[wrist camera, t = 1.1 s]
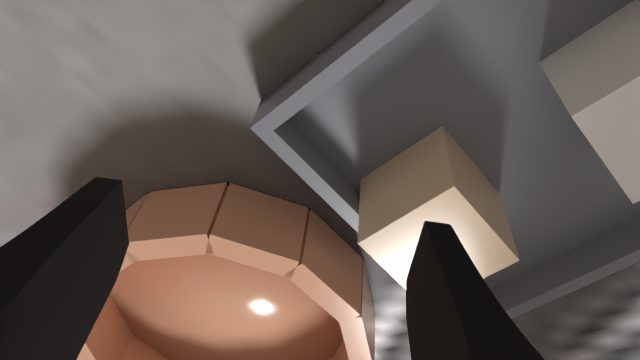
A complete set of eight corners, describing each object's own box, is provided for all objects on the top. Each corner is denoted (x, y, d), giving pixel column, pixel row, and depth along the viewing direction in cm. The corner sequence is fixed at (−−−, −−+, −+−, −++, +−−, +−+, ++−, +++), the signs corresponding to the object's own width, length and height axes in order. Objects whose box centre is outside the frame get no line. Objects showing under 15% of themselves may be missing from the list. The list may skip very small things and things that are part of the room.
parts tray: (776, 150, 21) (813, 183, 20) (461, 303, 27) (467, 339, 26) (604, -178, 16) (632, -175, 14) (260, 100, 22) (250, 128, 20)
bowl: (427, 319, 28) (433, 379, 25) (237, 412, 34) (224, 469, 31) (226, 128, 23) (204, 176, 20) (42, 277, 29) (5, 331, 26)
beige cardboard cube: (499, 193, 23) (519, 260, 20) (418, 239, 25) (424, 307, 21) (442, 125, 21) (454, 186, 18) (360, 179, 23) (357, 243, 20)
